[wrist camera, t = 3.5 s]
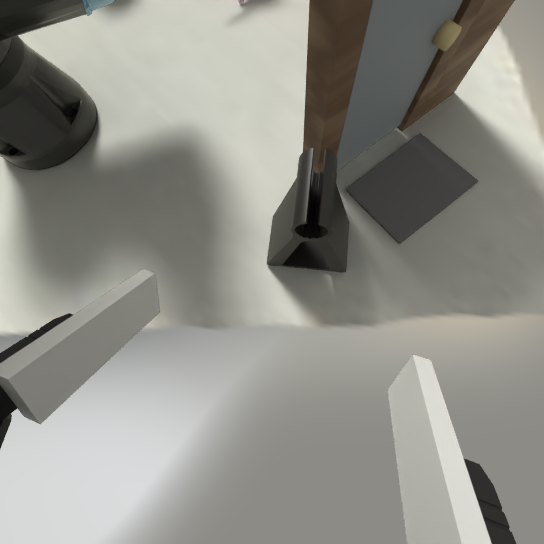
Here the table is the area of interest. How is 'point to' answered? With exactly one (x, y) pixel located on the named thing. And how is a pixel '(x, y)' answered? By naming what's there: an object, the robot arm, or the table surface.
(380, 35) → the door
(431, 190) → the mat
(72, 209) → the table surface
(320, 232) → the phone stand
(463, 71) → the door frame
